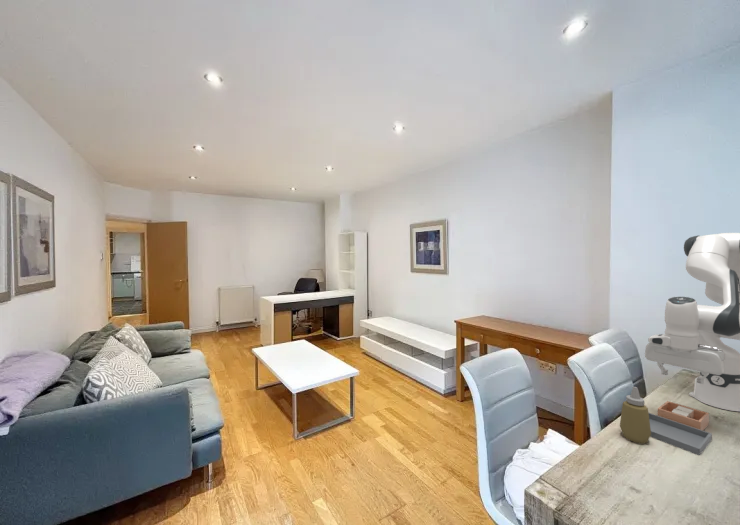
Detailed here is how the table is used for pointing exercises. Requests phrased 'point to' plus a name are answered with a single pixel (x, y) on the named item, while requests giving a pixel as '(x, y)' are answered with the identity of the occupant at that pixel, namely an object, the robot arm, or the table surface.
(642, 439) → the squeeze bottle
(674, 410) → the block
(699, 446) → the tray
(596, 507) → the table surface
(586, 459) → the table surface
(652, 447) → the table surface
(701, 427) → the bin
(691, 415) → the white cube
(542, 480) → the table surface
